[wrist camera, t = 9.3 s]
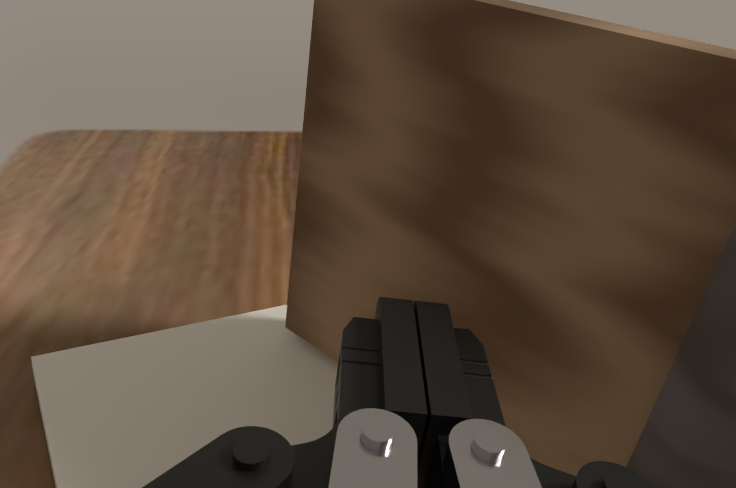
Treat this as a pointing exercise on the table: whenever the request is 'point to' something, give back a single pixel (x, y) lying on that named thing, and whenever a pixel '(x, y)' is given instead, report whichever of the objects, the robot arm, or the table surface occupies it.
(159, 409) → the thin white panel
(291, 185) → the table surface
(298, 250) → the wooden board with post
